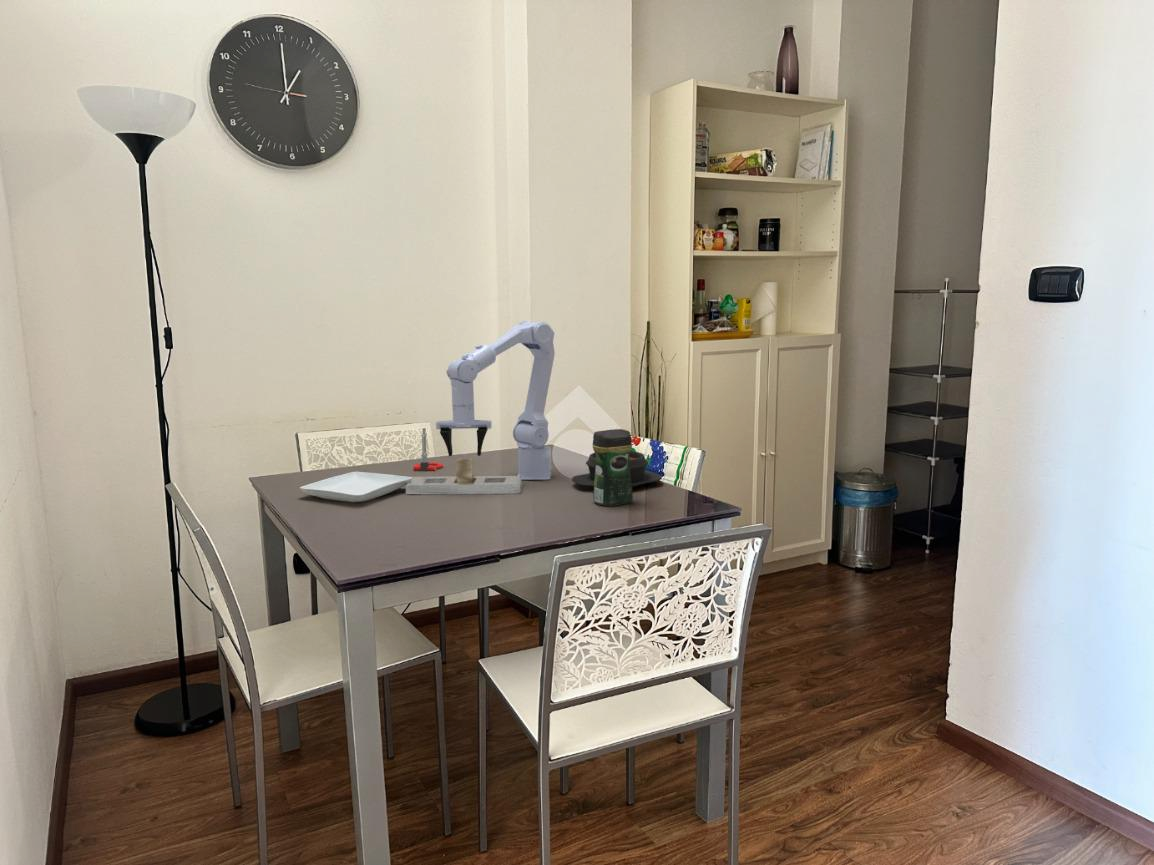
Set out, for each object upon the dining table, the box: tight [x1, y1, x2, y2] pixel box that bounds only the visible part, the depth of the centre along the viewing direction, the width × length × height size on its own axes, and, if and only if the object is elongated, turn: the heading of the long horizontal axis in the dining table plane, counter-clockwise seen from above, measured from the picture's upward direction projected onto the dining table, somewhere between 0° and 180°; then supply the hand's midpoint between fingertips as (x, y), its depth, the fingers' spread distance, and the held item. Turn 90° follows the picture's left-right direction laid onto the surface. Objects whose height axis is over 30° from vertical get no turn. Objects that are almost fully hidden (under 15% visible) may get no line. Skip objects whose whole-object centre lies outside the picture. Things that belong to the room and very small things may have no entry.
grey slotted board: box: [405, 475, 523, 495], centre depth 221 cm, size 30×10×2 cm, turn 90°
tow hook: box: [413, 427, 444, 472], centre depth 248 cm, size 8×13×9 cm
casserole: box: [571, 450, 663, 489], centre depth 224 cm, size 25×19×8 cm
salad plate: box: [299, 471, 413, 503], centre depth 217 cm, size 21×21×3 cm
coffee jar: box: [592, 428, 634, 507], centre depth 205 cm, size 10×8×19 cm
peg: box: [455, 458, 475, 483], centre depth 221 cm, size 4×4×8 cm
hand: (464, 455), depth 220 cm, fingers open, 7 cm apart
